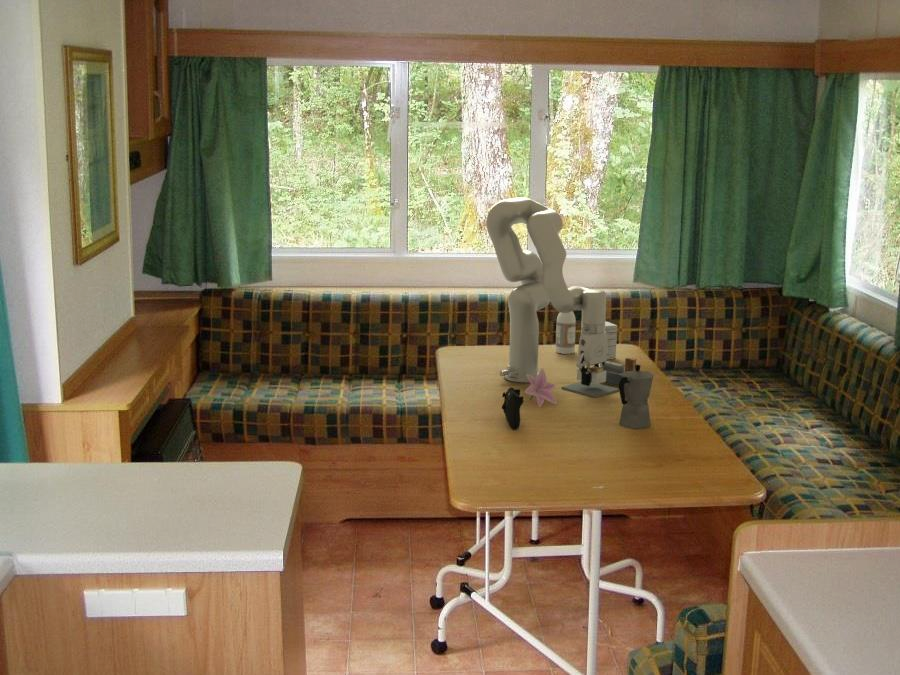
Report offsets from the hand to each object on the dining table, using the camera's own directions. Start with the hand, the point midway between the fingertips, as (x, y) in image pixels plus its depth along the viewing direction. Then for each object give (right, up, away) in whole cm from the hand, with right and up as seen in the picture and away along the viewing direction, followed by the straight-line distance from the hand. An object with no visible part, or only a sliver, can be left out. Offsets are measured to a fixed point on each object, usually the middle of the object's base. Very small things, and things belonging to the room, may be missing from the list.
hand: (591, 382), depth 361 cm
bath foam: (-3, +9, +49) cm, 50 cm away
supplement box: (+9, +7, +42) cm, 43 cm away
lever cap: (0, +1, 0) cm, 1 cm away
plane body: (+9, 0, +12) cm, 14 cm away
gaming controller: (-28, -11, -35) cm, 46 cm away
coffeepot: (+8, -11, -35) cm, 38 cm away
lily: (-18, -6, -14) cm, 24 cm away
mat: (0, -2, +1) cm, 2 cm away
